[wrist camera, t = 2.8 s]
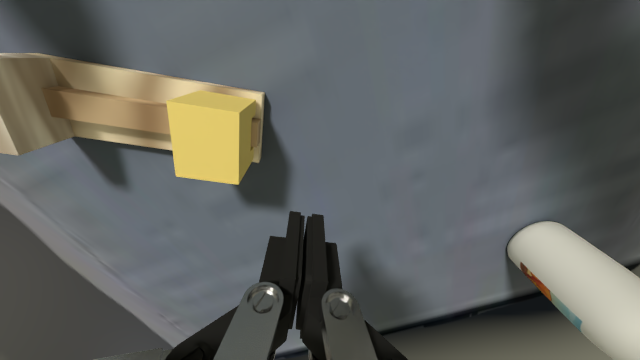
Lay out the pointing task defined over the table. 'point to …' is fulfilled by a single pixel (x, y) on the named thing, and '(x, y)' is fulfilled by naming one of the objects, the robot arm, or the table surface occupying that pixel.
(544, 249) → the milk bottle
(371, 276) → the table surface
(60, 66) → the rail
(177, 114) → the block
